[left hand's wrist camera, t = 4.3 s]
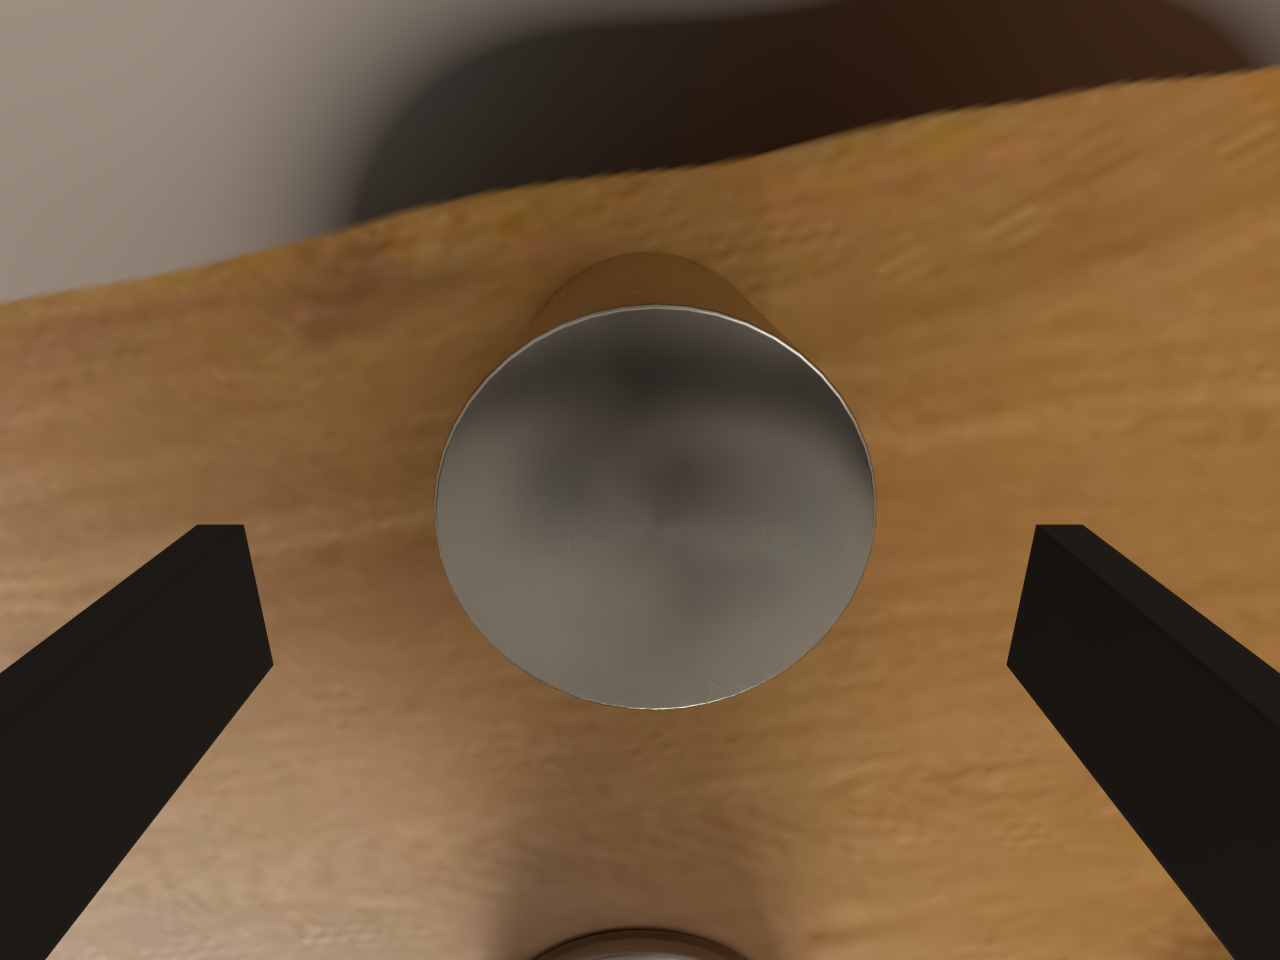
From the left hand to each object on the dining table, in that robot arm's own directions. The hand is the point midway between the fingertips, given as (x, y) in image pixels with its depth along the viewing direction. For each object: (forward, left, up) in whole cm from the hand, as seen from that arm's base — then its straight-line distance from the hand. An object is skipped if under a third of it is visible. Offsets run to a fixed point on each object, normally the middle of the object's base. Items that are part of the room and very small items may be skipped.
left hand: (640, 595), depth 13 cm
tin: (0, 0, -15) cm, 15 cm away
